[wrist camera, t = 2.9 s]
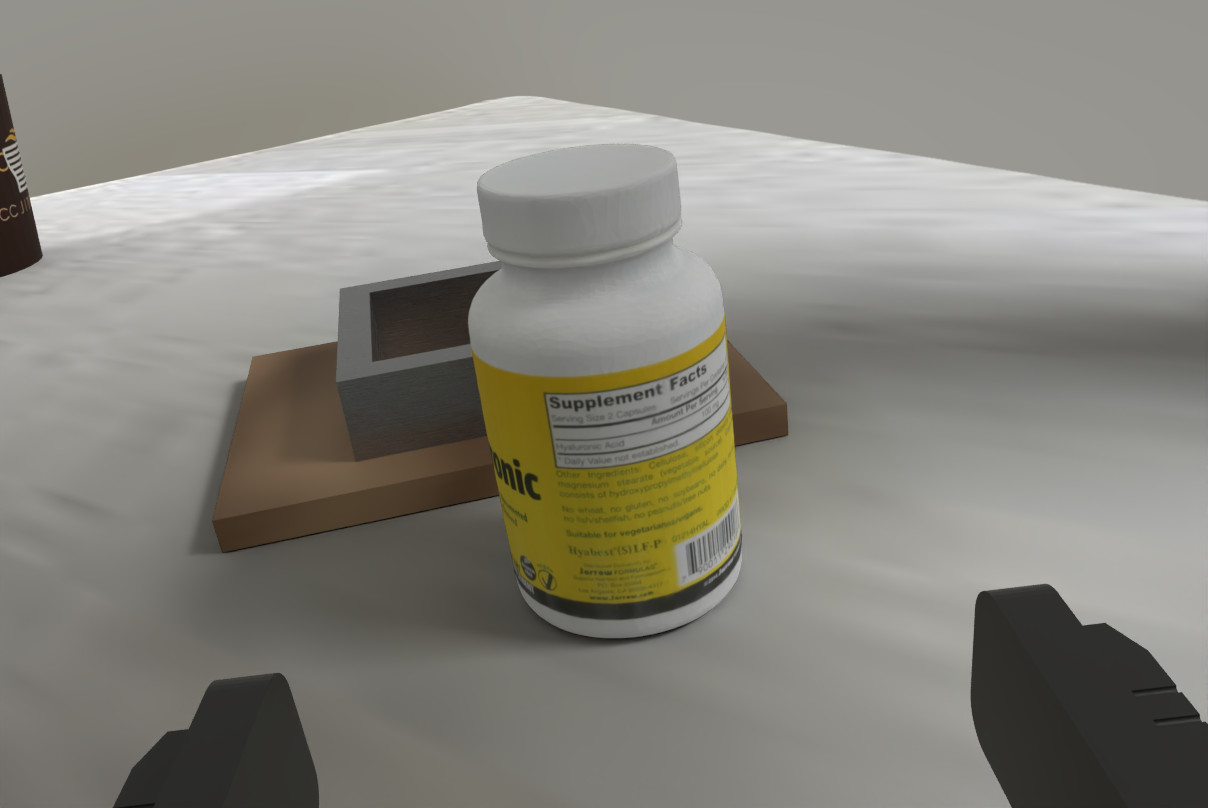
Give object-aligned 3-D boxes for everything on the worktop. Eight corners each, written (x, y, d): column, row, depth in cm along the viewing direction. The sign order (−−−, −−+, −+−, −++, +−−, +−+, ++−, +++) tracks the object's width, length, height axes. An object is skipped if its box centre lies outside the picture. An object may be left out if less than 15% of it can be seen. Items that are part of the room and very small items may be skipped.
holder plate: (674, 304, 41) (672, 280, 40) (787, 434, 30) (786, 404, 29) (259, 381, 38) (252, 356, 38) (222, 552, 27) (212, 520, 27)
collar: (587, 312, 38) (578, 247, 37) (644, 404, 30) (636, 325, 29) (355, 355, 37) (340, 288, 36) (355, 462, 29) (335, 382, 28)
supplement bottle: (516, 529, 27) (450, 154, 23) (721, 501, 27) (693, 123, 23) (515, 664, 22) (431, 218, 18) (765, 629, 22) (740, 178, 18)
